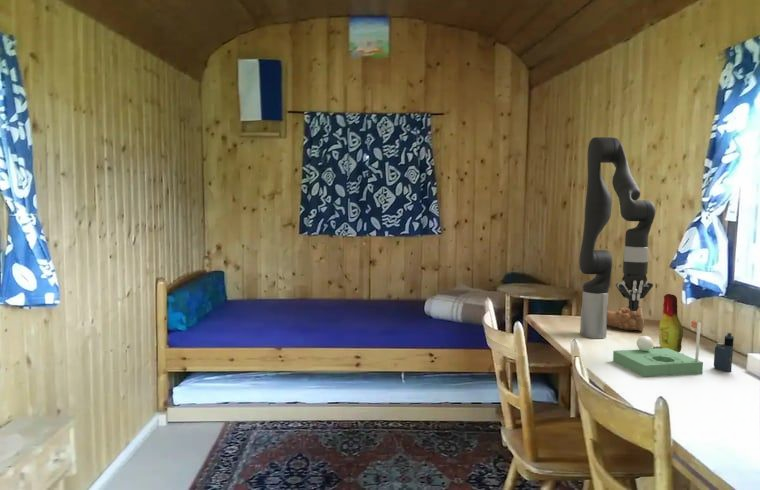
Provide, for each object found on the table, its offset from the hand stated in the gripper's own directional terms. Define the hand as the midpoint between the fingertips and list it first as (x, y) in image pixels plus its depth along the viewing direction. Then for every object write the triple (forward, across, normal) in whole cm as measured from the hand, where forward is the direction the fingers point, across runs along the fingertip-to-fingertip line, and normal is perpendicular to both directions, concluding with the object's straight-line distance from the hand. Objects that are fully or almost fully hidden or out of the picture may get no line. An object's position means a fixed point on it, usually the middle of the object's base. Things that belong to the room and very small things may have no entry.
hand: (633, 310), depth 193 cm
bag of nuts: (+16, -21, -36) cm, 44 cm away
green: (+16, 0, +13) cm, 20 cm away
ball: (+10, 0, +7) cm, 12 cm away
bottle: (+16, -17, -3) cm, 23 cm away
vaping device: (+16, -19, +19) cm, 31 cm away
